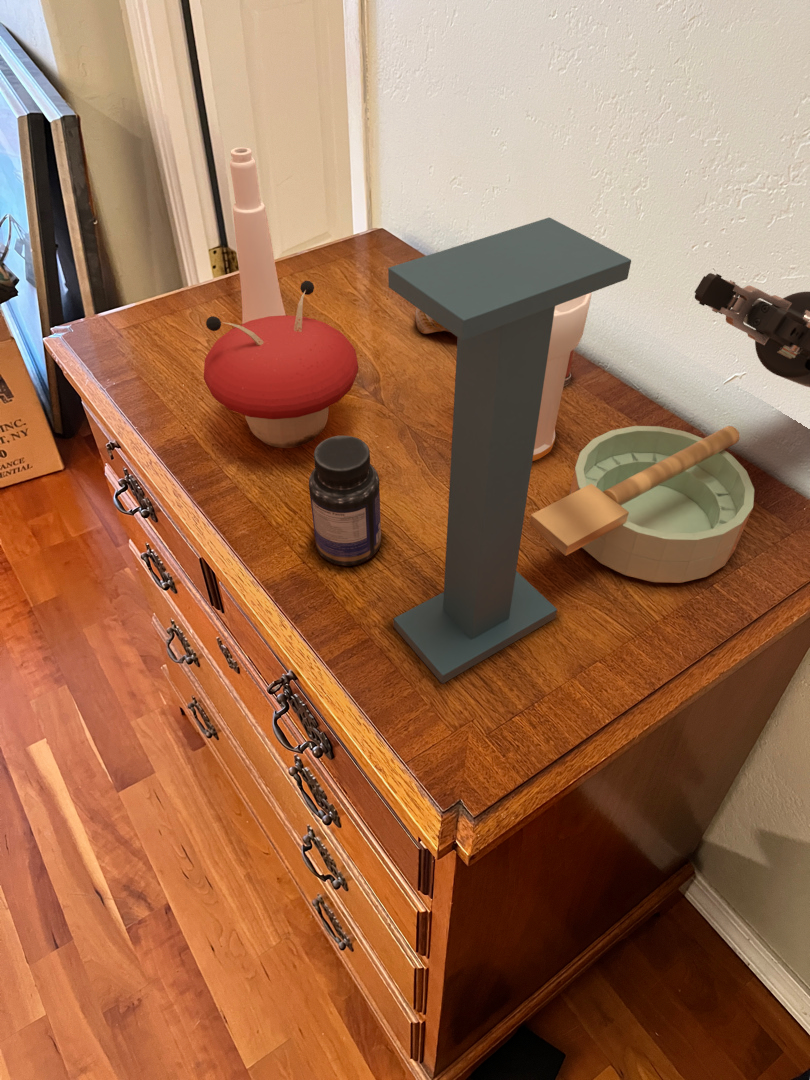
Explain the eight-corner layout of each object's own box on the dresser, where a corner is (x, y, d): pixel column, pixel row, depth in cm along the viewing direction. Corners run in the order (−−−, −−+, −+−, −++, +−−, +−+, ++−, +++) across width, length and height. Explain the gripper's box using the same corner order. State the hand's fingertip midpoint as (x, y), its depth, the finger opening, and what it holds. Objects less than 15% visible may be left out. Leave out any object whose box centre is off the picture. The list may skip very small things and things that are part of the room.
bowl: (769, 541, 74) (791, 493, 70) (652, 613, 68) (669, 566, 64) (646, 454, 83) (658, 407, 79) (533, 511, 77) (540, 463, 73)
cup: (561, 477, 81) (589, 323, 68) (451, 463, 82) (459, 310, 70) (567, 413, 88) (594, 264, 76) (467, 401, 90) (477, 253, 78)
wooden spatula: (709, 430, 76) (715, 415, 75) (748, 454, 74) (754, 439, 72) (529, 524, 67) (531, 509, 66) (565, 556, 64) (568, 540, 63)
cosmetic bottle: (253, 351, 97) (224, 164, 82) (235, 328, 101) (204, 146, 86) (298, 337, 100) (278, 154, 84) (278, 316, 103) (256, 137, 88)
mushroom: (315, 371, 94) (303, 249, 84) (389, 438, 85) (387, 311, 75) (192, 416, 88) (163, 291, 77) (258, 494, 79) (235, 364, 68)
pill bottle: (344, 513, 77) (337, 420, 69) (394, 539, 74) (393, 446, 67) (302, 550, 73) (289, 457, 66) (353, 578, 71) (347, 485, 63)
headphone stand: (555, 618, 68) (631, 259, 45) (442, 684, 63) (463, 320, 40) (503, 568, 72) (549, 216, 49) (393, 627, 67) (387, 267, 44)
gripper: (774, 274, 75) (693, 223, 64) (916, 340, 67) (853, 295, 55) (728, 346, 78) (642, 310, 67) (858, 418, 70) (787, 391, 58)
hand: (738, 304), depth 61 cm, fingers open, 6 cm apart
